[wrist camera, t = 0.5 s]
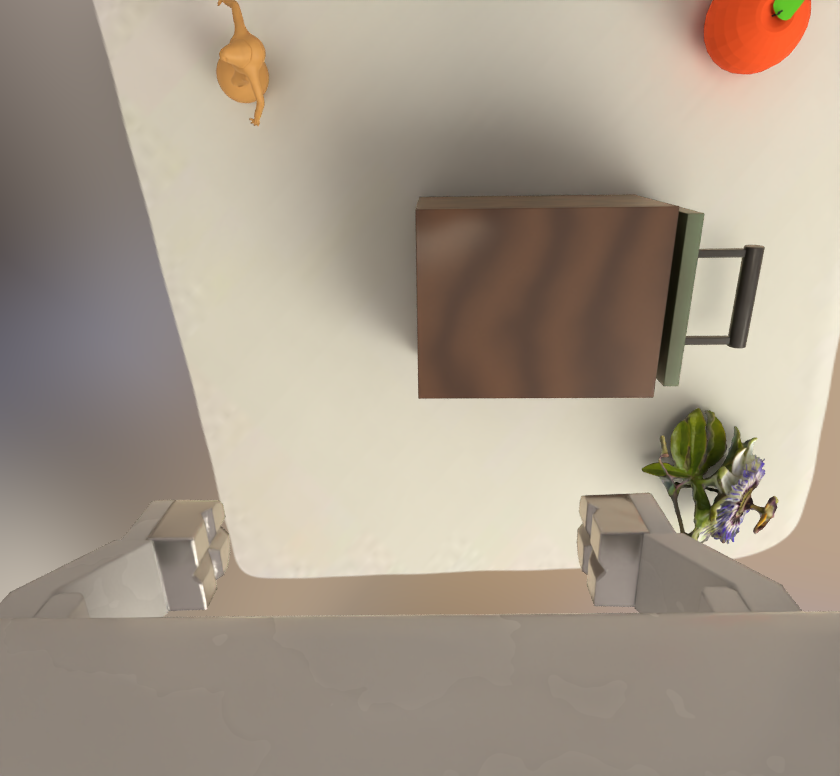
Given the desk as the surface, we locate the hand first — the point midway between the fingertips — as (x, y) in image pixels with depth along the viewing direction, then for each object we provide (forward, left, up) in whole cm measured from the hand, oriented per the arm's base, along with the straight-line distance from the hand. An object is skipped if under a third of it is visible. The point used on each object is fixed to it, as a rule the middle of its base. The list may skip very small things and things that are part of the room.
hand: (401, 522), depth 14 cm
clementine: (-16, +25, -44) cm, 53 cm away
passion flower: (+23, +27, -44) cm, 56 cm away
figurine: (-13, -13, -44) cm, 48 cm away
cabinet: (+4, +9, -44) cm, 45 cm away
